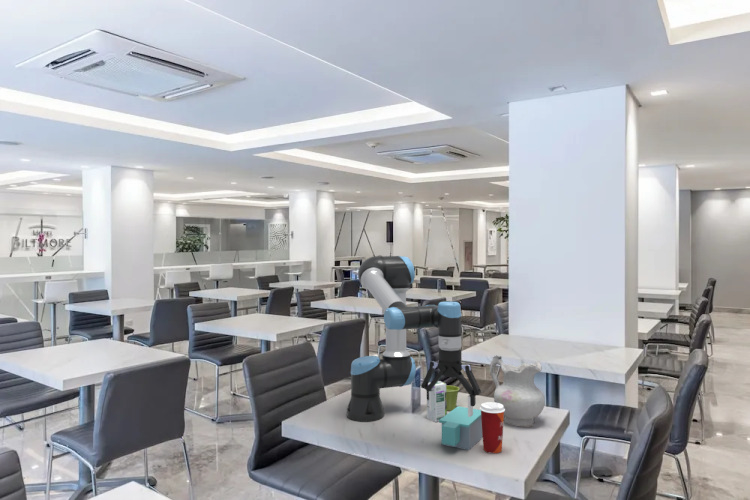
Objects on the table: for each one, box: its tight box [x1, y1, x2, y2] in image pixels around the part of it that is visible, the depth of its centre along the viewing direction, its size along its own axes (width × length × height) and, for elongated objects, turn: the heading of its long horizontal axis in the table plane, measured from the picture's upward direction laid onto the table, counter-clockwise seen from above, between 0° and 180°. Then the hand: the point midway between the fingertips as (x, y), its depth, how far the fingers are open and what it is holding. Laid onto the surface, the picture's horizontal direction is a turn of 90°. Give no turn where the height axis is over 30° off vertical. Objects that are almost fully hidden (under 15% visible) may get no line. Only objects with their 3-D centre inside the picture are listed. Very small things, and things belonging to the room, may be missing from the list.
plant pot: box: [446, 384, 460, 412], centre depth 216 cm, size 9×9×9 cm
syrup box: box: [426, 380, 448, 423], centre depth 202 cm, size 6×6×14 cm
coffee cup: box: [479, 401, 505, 454], centre depth 171 cm, size 8×8×15 cm
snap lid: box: [438, 405, 481, 446], centre depth 177 cm, size 23×11×6 cm, turn 150°
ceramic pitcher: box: [489, 355, 546, 428], centre depth 199 cm, size 22×20×25 cm
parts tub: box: [441, 417, 483, 451], centre depth 179 cm, size 14×10×8 cm
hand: (450, 412), depth 169 cm, fingers open, 13 cm apart
